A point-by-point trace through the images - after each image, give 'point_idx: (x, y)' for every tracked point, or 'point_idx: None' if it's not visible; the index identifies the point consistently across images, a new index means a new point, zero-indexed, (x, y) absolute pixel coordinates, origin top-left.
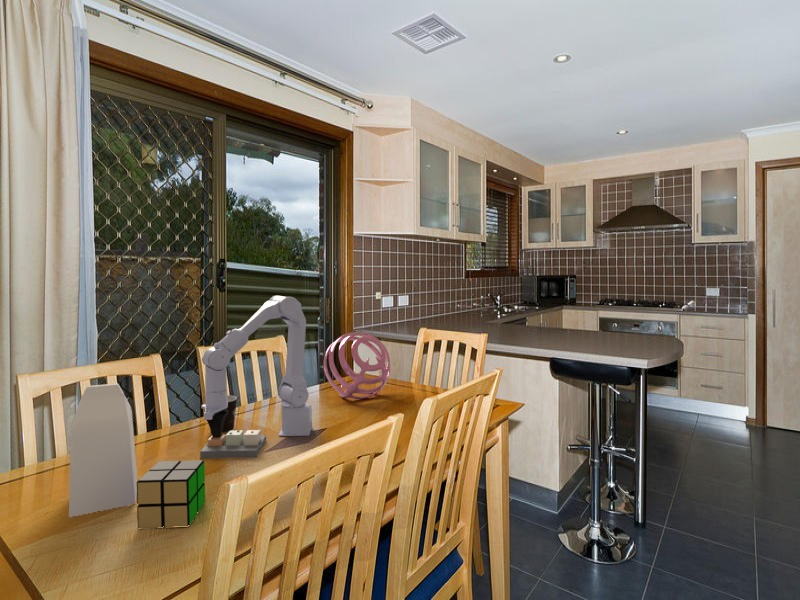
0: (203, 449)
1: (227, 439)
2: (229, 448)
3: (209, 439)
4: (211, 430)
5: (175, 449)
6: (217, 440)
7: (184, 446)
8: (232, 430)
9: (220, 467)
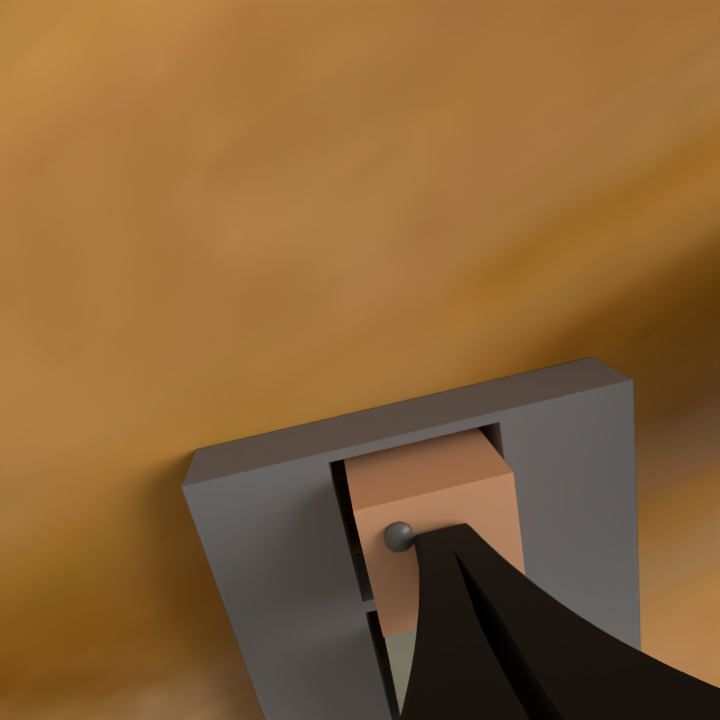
0: (238, 488)
1: (395, 682)
2: (314, 682)
3: (361, 525)
4: (421, 603)
5: (368, 35)
6: (374, 593)
7: (467, 93)
8: None
9: (78, 686)
